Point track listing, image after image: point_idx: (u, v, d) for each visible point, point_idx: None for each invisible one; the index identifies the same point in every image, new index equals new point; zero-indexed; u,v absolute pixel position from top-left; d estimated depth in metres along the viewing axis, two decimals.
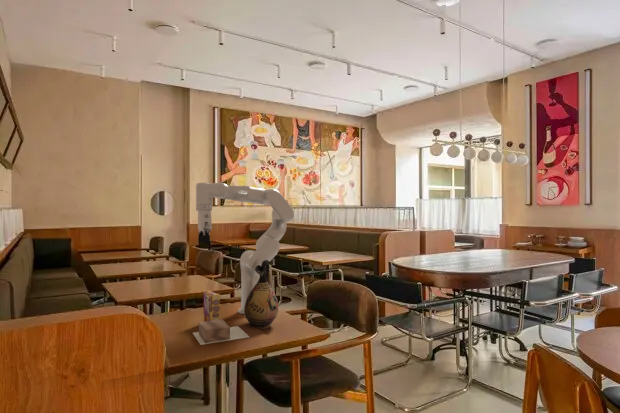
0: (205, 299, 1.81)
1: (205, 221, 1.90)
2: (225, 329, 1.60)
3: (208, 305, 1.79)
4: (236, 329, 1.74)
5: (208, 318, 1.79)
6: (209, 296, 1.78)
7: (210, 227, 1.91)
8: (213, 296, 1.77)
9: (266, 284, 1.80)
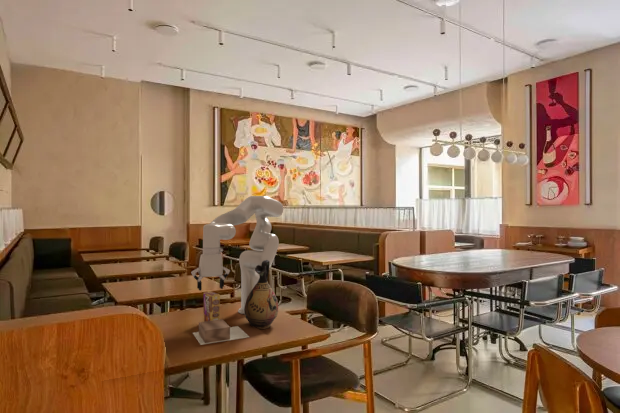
0: (205, 299, 1.81)
1: None
2: (225, 329, 1.60)
3: (208, 305, 1.79)
4: (236, 329, 1.74)
5: (208, 318, 1.79)
6: (209, 296, 1.78)
7: None
8: (213, 296, 1.77)
9: (266, 284, 1.80)
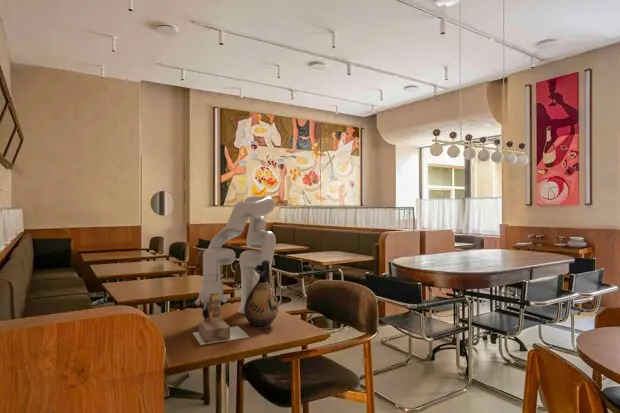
0: None
1: None
2: (225, 329, 1.60)
3: (208, 305, 1.79)
4: (236, 329, 1.74)
5: (208, 318, 1.79)
6: None
7: None
8: (213, 296, 1.77)
9: (266, 284, 1.80)
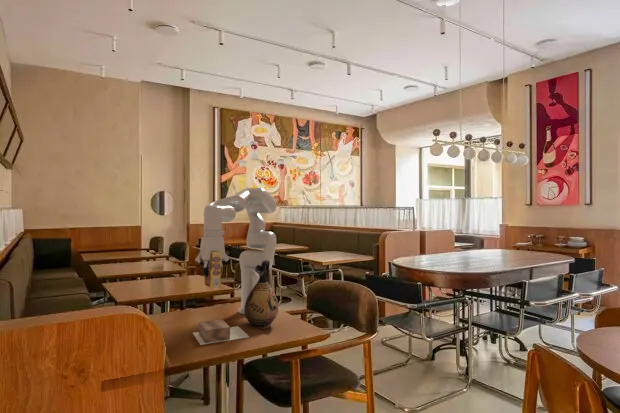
0: None
1: None
2: (225, 329, 1.60)
3: (208, 263, 1.70)
4: (236, 329, 1.74)
5: (208, 276, 1.70)
6: None
7: None
8: (213, 253, 1.68)
9: (266, 284, 1.80)
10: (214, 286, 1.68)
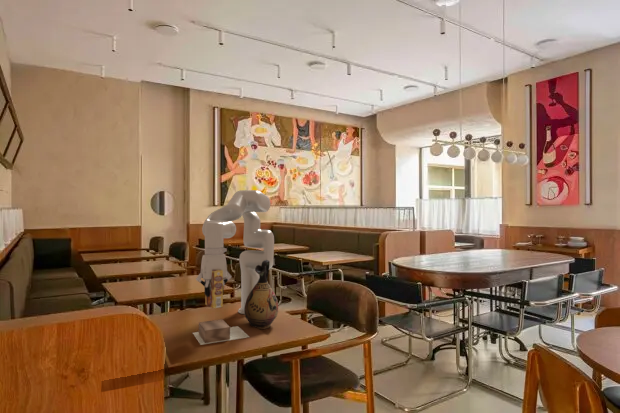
0: None
1: None
2: (225, 329, 1.60)
3: (210, 282, 1.62)
4: (236, 329, 1.74)
5: (210, 296, 1.62)
6: None
7: None
8: (215, 272, 1.60)
9: (266, 284, 1.80)
10: (216, 307, 1.60)
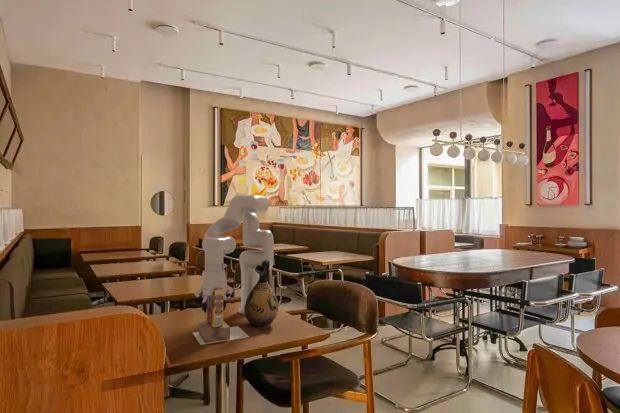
0: None
1: None
2: (225, 329, 1.60)
3: (210, 300, 1.63)
4: (236, 329, 1.74)
5: (210, 314, 1.63)
6: None
7: None
8: (216, 291, 1.60)
9: (266, 284, 1.80)
10: (216, 325, 1.61)
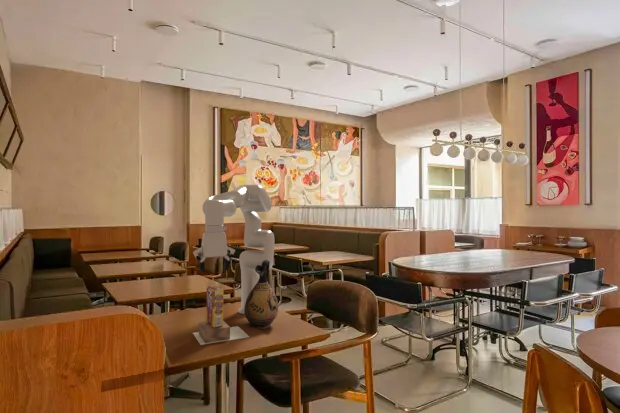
0: (208, 294, 1.65)
1: None
2: (225, 329, 1.60)
3: (210, 300, 1.63)
4: (236, 329, 1.74)
5: (210, 315, 1.63)
6: (212, 291, 1.62)
7: None
8: (216, 291, 1.60)
9: (266, 284, 1.80)
10: (216, 325, 1.61)
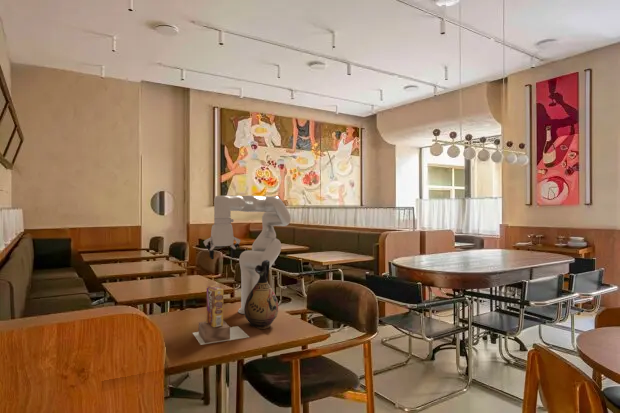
0: (208, 294, 1.65)
1: None
2: (225, 329, 1.60)
3: (210, 300, 1.63)
4: (236, 329, 1.74)
5: (210, 315, 1.63)
6: (212, 291, 1.62)
7: None
8: (216, 291, 1.60)
9: (266, 284, 1.80)
10: (216, 325, 1.61)
